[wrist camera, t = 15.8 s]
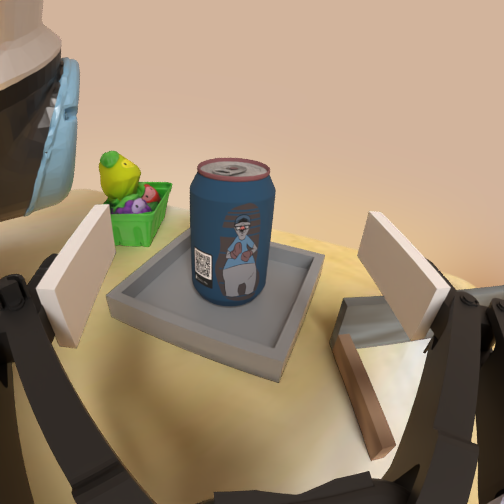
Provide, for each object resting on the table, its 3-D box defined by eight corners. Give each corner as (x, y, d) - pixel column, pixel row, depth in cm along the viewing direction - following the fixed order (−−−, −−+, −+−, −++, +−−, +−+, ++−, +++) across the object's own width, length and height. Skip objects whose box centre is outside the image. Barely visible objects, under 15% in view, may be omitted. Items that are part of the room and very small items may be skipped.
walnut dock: (540, 386, 19) (567, 352, 16) (371, 460, 16) (403, 426, 14) (491, 318, 29) (509, 284, 26) (329, 342, 26) (343, 298, 23)
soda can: (226, 261, 34) (231, 152, 28) (278, 288, 31) (294, 168, 25) (177, 289, 30) (171, 165, 24) (231, 324, 26) (237, 186, 20)
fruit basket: (156, 253, 37) (150, 160, 31) (91, 250, 36) (78, 163, 30) (174, 214, 46) (173, 140, 41) (120, 213, 46) (114, 142, 40)
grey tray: (111, 316, 26) (105, 295, 25) (195, 241, 40) (194, 223, 38) (278, 382, 22) (283, 362, 21) (320, 273, 35) (324, 254, 34)
